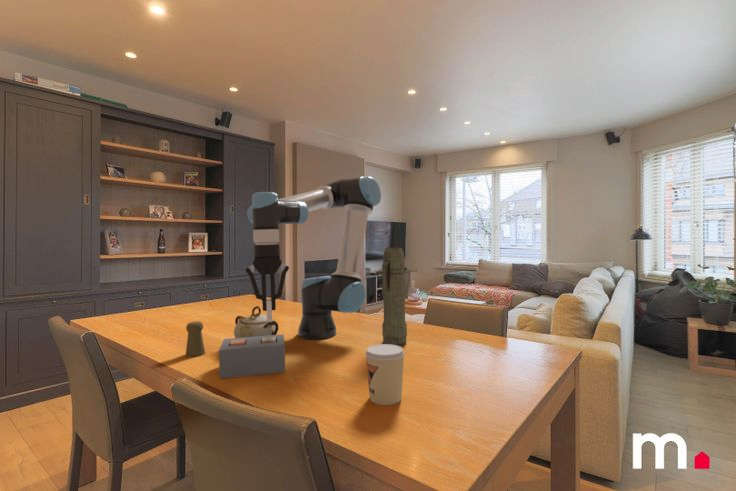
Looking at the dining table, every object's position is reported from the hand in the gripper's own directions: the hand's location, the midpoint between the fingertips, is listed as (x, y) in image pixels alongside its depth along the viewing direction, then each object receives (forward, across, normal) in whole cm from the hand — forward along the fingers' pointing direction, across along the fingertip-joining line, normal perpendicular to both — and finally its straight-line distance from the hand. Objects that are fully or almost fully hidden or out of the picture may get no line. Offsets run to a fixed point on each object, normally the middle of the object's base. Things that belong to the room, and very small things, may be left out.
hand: (269, 320), depth 114 cm
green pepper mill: (+14, +25, -20) cm, 35 cm away
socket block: (+14, +5, 0) cm, 15 cm away
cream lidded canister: (+14, -27, +32) cm, 44 cm away
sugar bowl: (+14, +5, -20) cm, 26 cm away
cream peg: (+13, +1, 0) cm, 13 cm away
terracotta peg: (+13, +10, 0) cm, 16 cm away
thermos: (+15, -44, -12) cm, 48 cm away
